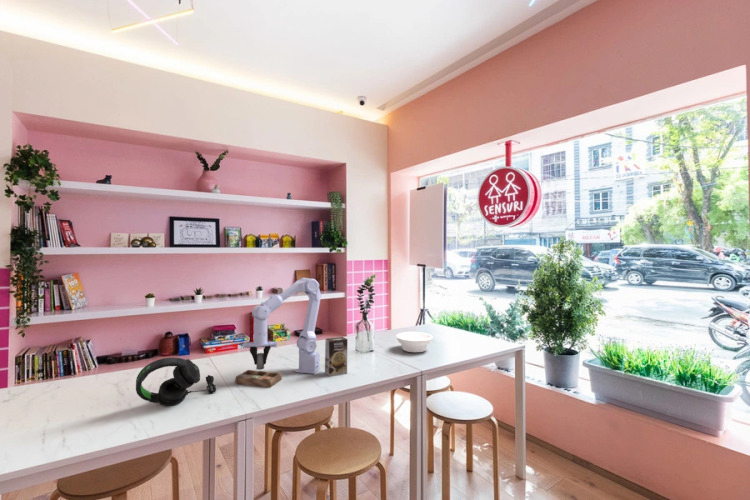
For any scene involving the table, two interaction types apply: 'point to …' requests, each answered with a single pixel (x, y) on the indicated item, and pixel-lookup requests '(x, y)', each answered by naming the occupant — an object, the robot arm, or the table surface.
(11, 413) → the table surface
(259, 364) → the peg
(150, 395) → the headset
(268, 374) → the socket block
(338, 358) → the coffee box
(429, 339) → the bowl
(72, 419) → the table surface
